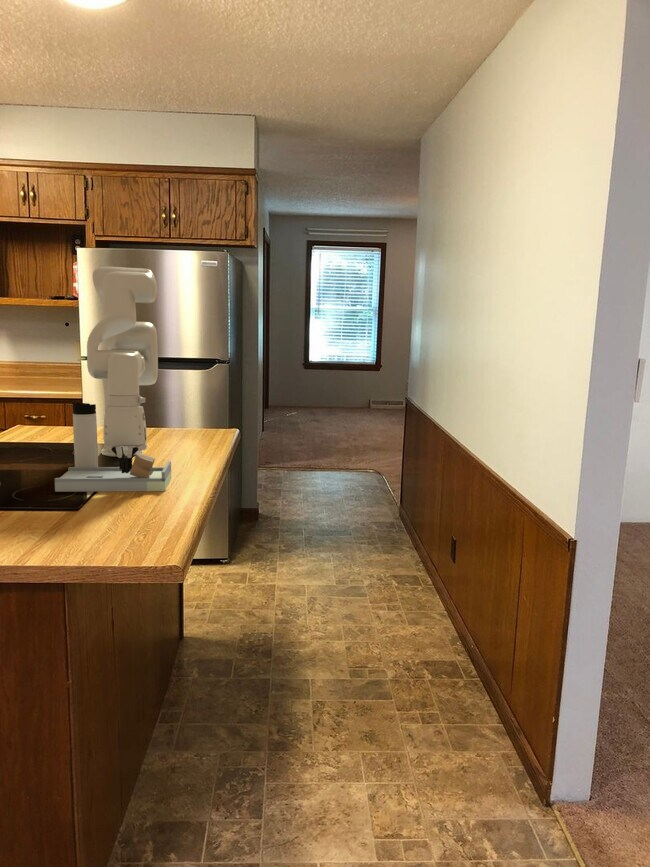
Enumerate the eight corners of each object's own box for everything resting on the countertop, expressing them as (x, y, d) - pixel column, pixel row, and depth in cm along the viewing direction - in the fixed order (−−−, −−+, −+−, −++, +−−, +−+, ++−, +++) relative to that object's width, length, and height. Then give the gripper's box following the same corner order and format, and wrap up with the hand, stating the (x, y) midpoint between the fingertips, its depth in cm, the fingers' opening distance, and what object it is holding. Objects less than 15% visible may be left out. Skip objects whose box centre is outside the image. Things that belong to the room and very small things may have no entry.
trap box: (69, 478, 172) (68, 460, 171) (171, 478, 175) (171, 461, 175) (55, 491, 160) (54, 472, 159) (165, 491, 163) (164, 472, 162)
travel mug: (69, 471, 180) (66, 401, 177) (87, 467, 186) (84, 399, 183) (84, 474, 178) (82, 403, 174) (103, 470, 183) (100, 401, 180)
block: (132, 470, 167) (138, 452, 166) (149, 475, 168) (155, 458, 167) (129, 474, 163) (135, 456, 162) (146, 479, 163) (152, 462, 163)
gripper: (156, 400, 165) (157, 468, 169) (97, 399, 164) (99, 468, 167) (151, 403, 158) (153, 475, 161) (89, 403, 157) (92, 475, 160)
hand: (126, 471), depth 164 cm, fingers closed
